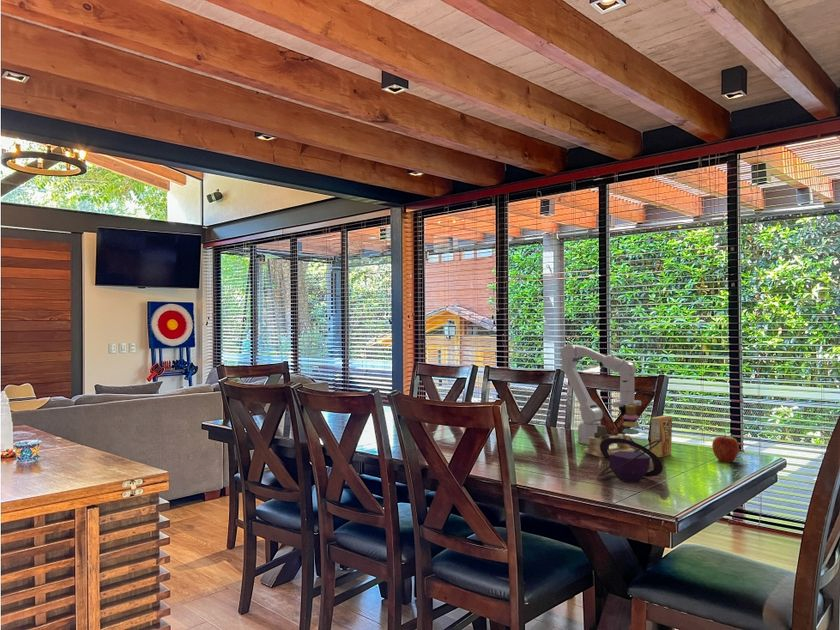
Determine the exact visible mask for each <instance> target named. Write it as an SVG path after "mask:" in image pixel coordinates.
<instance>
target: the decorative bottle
mask: <svg viewBox="0 0 840 630" xmlns="http://www.w3.org/2000/svg"><path fill="white" fill-rule="evenodd" d="M625 409H626V414H625V415H624V416H622V419H623V418H624V419H630V420H631V422H624V421H623V423H622V426H624V427H629V428H624V429H623V430H622V434H624V435H638V434H640V431H639V430H638V429H635V428H637V427H639V426H640V424H639V423H638V422H636V420H639V419H640V417H639V415H637V413H636V411H637V405H636V406H633V405H631V404H626V406H625ZM631 414H633V415H631ZM632 420H635V421H632ZM661 440H662V439H659V440H656V441H654V442H651V441H650V442H649V443H648V444H645V445H641V444H639V443H637V442H635V441H632V440H630V441H629V440H626V439H620V438H609V439H605V440H603V441H602V442H601V444H600V450H601V452H602V454H603V456H604V457H603V458H605V459H606V460H607V461H608V467H606V468H605V469H604V470H603V471H601V472H600V473H599V474H598V477H603V476H605V475H609V474H610V473H613V474H614V475H615V476H616V478H617V479H618V480H620V481H621V482H623V483H628V484H639V483H640V481H642V479H644V478H645V477H647V478H648V477H649V478H651V477H653V478H654V477H658V475H661V474H662V472H663V470H664V467H663V463H662V461H661V459H660V458H659V457H657V456H656V455H655V454H654V453H652V452H651V449H652V448H653V447H655V446H656V445H657V444H659V443H660V442H661ZM655 442H657V443H656V444H655V445H653V446H652V447H651V444H653V443H655ZM613 443H615V444H617V443H624V444H628V445H630V447H631V446H632V447H633V448H636V450H635V451H634V452H626V451H618V452H615V453H613V454H610V456H609V454H608V452H607V447H608V446H611V445H614V444H613ZM648 446H650V447H649V448H647V447H648ZM623 448H624V447H623ZM639 451H642V452H639ZM651 460H652V462H653V464H654V468H653V469H652V470H651V471H649V470H650V466H651V465H650V464H651ZM609 469H610V470H609ZM608 470H609V471H608Z"/></svg>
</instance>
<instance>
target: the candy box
mask: <svg viewBox="0 0 840 630" xmlns="http://www.w3.org/2000/svg"><path fill="white" fill-rule="evenodd" d="M650 420H651V422H650V423H651V425H650V428H651V429H650V433H651V435H650V443H651V442H654V441H656V440H659V439H662V440H661V442H660V443H659V444H657V445H656V446H655V447H653V448H652V449H650V451H651V452H652V453H654V454H655V455H656V456H657V457H658V458H659V457H660V458H663V457H666V456H672V438H673V437H672V435H673V434H672V432H673V431H672V430H673V417H672V416H669V415H660V416H659V415H658V416H653V417H651V419H650ZM656 443H657V442H655V443H653V444H650V448H651V447H652V446H653V445H655V444H656Z"/></svg>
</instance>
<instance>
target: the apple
mask: <svg viewBox="0 0 840 630" xmlns="http://www.w3.org/2000/svg"><path fill="white" fill-rule="evenodd" d="M711 448H712V451H713V454H714V456H715V458H716V459H717V460H718V461H720V462H723V461H724V462H723V463H733V461H735V460H736V458H737V456H738V454H739V451H740V446H739V442H738V440H737V439H736V438H734V437H733V436H727V435H726V434H724V436H723V435H722V436H721V435H718V436H716V437H715V438H714V439H713V441H712V447H711Z"/></svg>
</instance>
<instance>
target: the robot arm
mask: <svg viewBox="0 0 840 630" xmlns="http://www.w3.org/2000/svg"><path fill="white" fill-rule="evenodd" d="M560 356H561V369H562V370H563V373H564V375H565V377H566V379H567V381H568V382H569V385H570V386H571V389H572V391H573V393H574V395H575V397H576V399H577V401H578V402H579V410H580V417H581V418H580V419H581V420H582V422H580V423H579V424H578V426H577V440H576V443H579V444H583V445H587V446H588V437H594V433H596V432H597V426H600V425H601V426H602V424H601V423H602V422H601V420H602V419H603V417H604V412H603V410H602V409H601V408H600V407H599V406H598V405H597V403H596V402H595V400H593V399H592V398H591V396H590V394H589V392H588V390H587V388H586V386H585V384H584V382H583V380H582V377H581V375H580V374H579V372H578V370H577V368H576V366H577V364H578V361H580V360H581V358H582V357H585V358H589V359H591V360H594V361H597V362H600V363H602V365H603V367H604V368H606V369H609V370H611V371H614V372H615V373H618V374H619V377H620V378H619V400H618V401H614V402H612V407H613V408H618V410H619V411H620V413H621V417H622V420H623V423H624V422H632V420H630V419H624V418H623V416H624V415H625V414H626V409H625V406H626V405H633V406H636V407H637V406H642V400H640V399H639V400H635V374H636V372H637V366H636V364H635V363H633V362H632V361H626V359H624V358H623V359H621V358H619V357H616V355H615V354H607V355H604V354H602V353H600V352H597V351H596V350H593V349H591V348H589V347H587V346H585V345H581V344H577V343H576V344H566V345H564V346H563V348H562V349H561V351H560ZM631 415H634V414H631Z"/></svg>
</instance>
